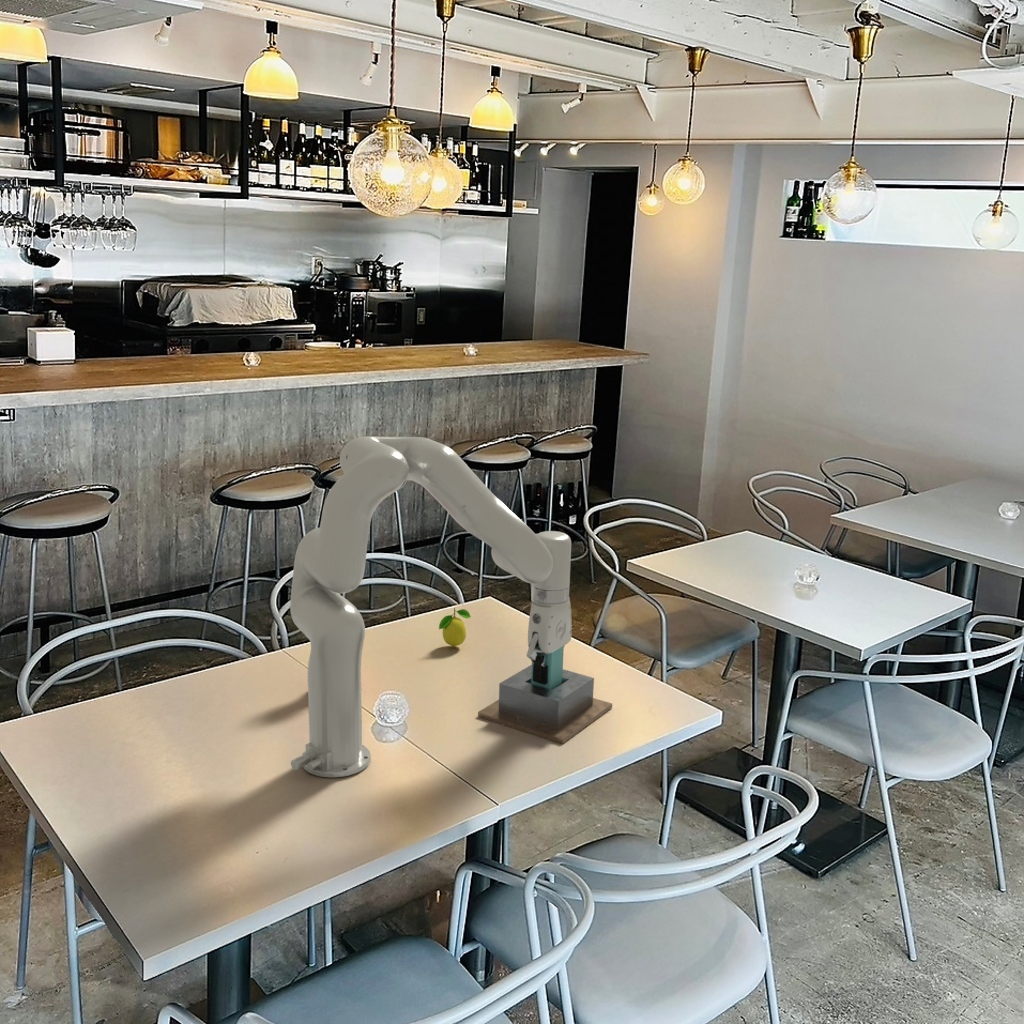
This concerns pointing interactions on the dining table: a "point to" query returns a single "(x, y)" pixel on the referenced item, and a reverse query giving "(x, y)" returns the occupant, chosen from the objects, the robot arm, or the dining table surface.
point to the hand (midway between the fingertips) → (546, 677)
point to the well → (546, 706)
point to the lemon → (454, 628)
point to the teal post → (552, 669)
